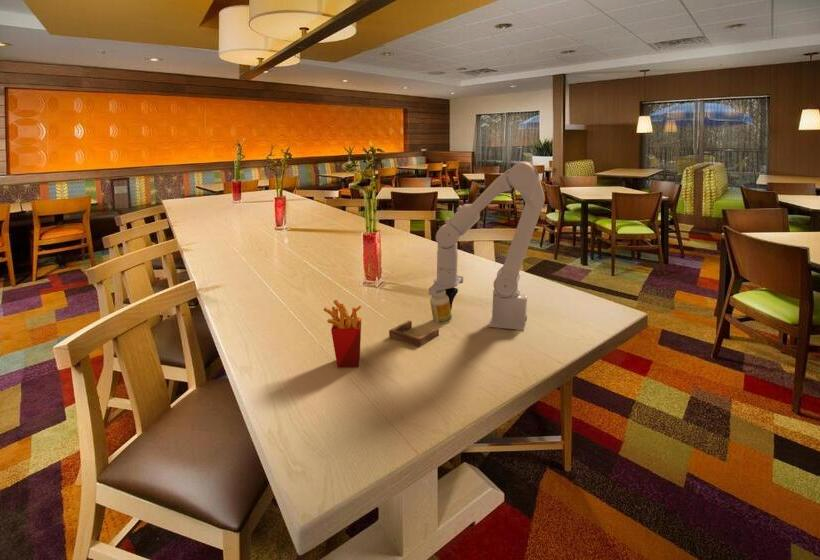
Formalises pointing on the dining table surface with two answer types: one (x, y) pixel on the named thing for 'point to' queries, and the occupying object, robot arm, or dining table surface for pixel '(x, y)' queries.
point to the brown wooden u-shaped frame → (418, 341)
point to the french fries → (345, 335)
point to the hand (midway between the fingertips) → (445, 312)
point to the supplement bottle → (441, 307)
